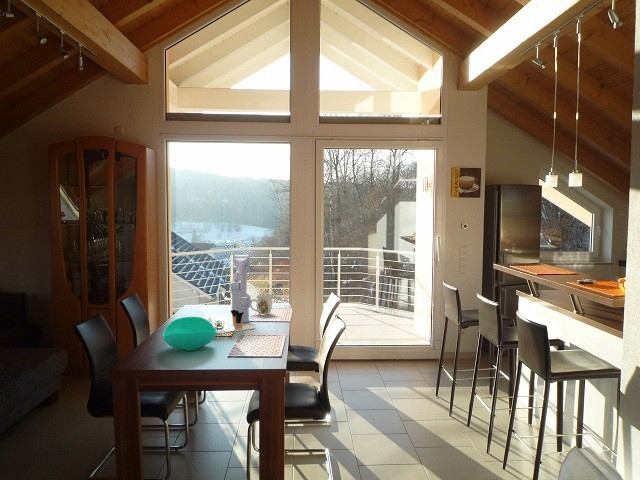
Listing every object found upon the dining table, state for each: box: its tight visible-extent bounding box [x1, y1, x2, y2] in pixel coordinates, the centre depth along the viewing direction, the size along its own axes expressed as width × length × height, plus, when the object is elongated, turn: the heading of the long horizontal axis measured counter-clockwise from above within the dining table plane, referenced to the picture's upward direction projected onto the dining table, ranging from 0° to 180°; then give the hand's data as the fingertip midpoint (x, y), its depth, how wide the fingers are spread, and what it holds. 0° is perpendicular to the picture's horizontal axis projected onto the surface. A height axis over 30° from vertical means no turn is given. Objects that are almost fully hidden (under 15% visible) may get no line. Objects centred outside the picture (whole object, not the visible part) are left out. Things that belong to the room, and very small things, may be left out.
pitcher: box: [249, 294, 276, 315], centre depth 348 cm, size 11×18×14 cm, turn 92°
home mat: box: [233, 323, 256, 333], centre depth 307 cm, size 14×18×1 cm
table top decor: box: [162, 316, 217, 352], centre depth 263 cm, size 40×28×13 cm
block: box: [231, 316, 243, 329], centre depth 307 cm, size 4×4×7 cm
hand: (237, 322), depth 307 cm, fingers open, 5 cm apart
